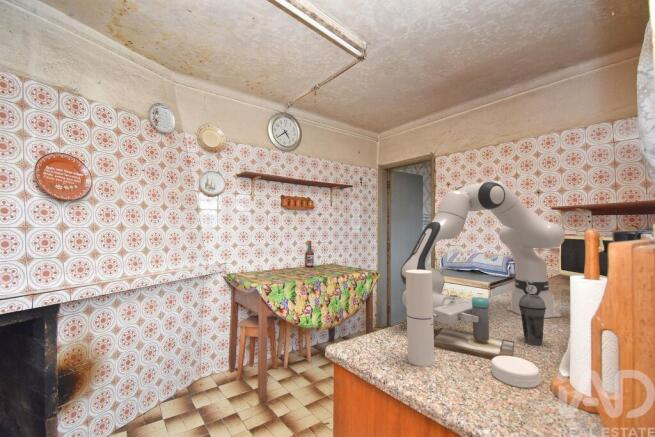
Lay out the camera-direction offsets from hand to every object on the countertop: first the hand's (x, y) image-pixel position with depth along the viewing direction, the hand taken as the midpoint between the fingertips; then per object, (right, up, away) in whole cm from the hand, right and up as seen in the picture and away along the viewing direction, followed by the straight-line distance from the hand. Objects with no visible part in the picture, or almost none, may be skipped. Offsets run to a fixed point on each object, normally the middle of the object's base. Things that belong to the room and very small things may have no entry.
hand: (483, 317), depth 88 cm
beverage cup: (+18, -9, +4) cm, 21 cm away
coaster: (-2, -9, -17) cm, 20 cm away
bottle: (0, -7, +1) cm, 7 cm away
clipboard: (-3, -10, +2) cm, 10 cm away
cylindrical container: (-22, -10, -8) cm, 25 cm away
